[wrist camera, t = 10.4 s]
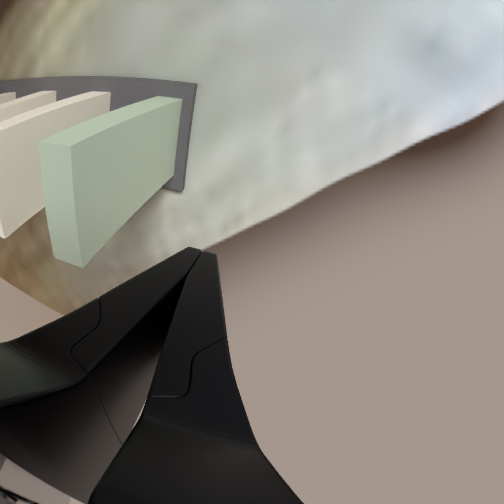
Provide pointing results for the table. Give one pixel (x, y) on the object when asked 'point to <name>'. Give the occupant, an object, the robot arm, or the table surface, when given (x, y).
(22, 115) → the domino
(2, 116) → the domino
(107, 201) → the domino
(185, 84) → the mat
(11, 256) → the table surface
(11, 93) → the domino
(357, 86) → the table surface
